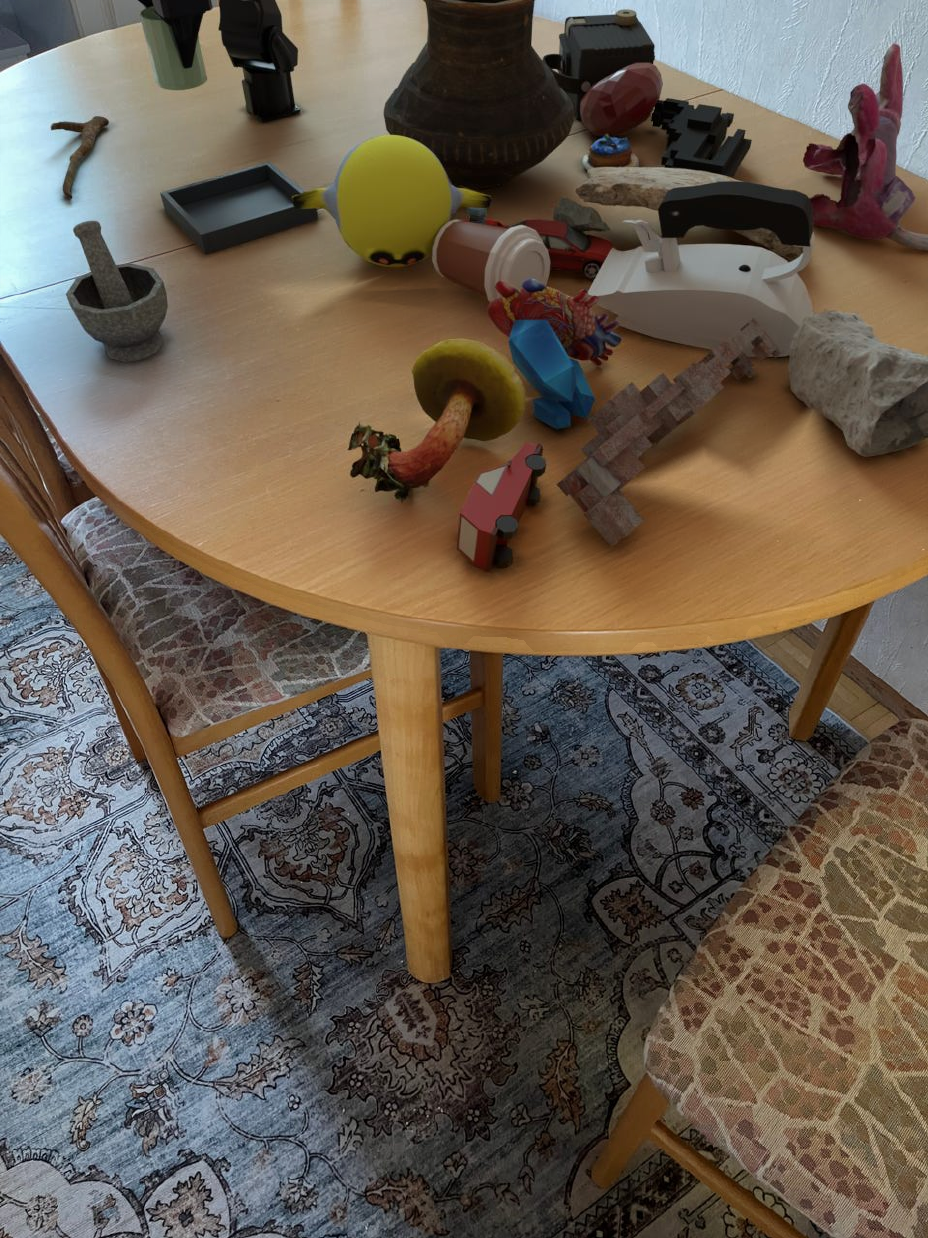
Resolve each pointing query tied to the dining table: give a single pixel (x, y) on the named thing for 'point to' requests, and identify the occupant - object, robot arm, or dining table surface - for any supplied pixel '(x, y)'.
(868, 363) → the decorative stone
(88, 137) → the branch
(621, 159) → the dessert
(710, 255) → the iron
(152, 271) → the mortar and pestle
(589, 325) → the anatomical model
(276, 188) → the tray
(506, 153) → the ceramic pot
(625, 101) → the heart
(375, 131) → the dining table surface
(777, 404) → the dining table surface
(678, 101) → the tool
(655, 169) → the stone fragment
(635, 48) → the camera
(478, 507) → the toy truck
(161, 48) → the cup
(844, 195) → the toy
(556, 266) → the toy car
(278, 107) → the robot arm
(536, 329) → the crystal
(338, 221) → the toy
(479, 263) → the coffee cup
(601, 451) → the sculpture
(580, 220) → the stone
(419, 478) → the mushroom
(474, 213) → the button
